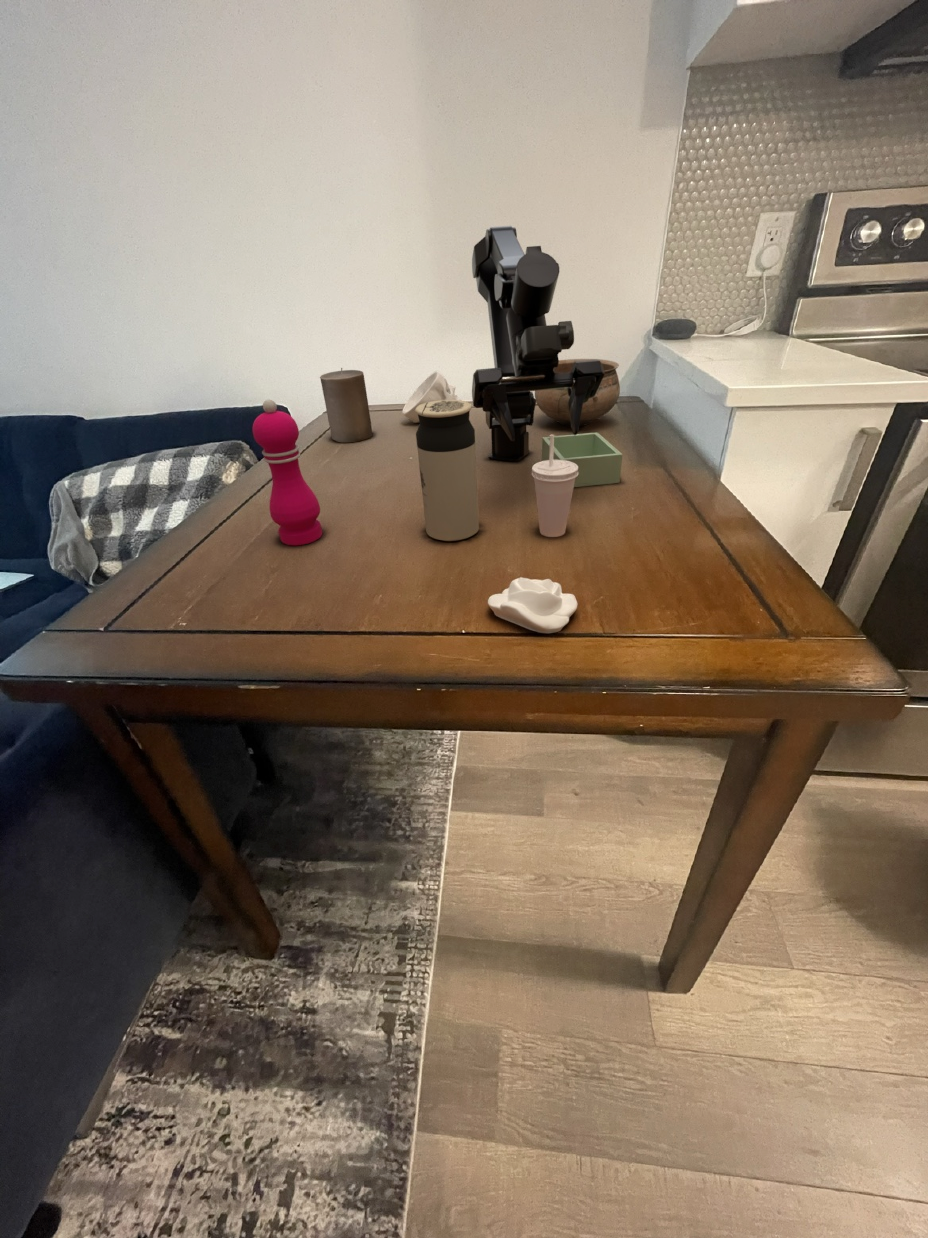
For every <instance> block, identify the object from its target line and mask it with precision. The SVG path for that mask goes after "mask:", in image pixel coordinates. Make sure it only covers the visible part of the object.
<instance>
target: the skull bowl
mask: <svg viewBox="0 0 928 1238" xmlns="http://www.w3.org/2000/svg"><path fill="white" fill-rule="evenodd" d="M455 391H456V386H455V385H451V384H449V382H448V381H447V379H446V377H445V376H444V375H443V373H442V372H440V371H439V370H435V371H433V372H432V373H430V374H429V376H427V377H426V378H425V380H424V381H422V382H421V384H419V386H418V387H417V388H416V389H415V391H413V393H412V394H411V395H410V396H409V398H408V400H407V401H406V403H405V404H404V406H403V408H402V410H401V411H402V412H401V413H402V415H403V416H404V417H405V418H406V419H408V420H409V421H411V422H412V423H414V424H420V421H419V417H418V414H417V413H416V412H415V409H416V407H417V406H419V405H421V404H424V403H427V402H432V401H439V400H461V401H463V400H462V399H461V398H459V397H458V395H455Z"/></svg>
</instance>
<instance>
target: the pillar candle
mask: <svg viewBox="0 0 928 1238" xmlns="http://www.w3.org/2000/svg"><path fill="white" fill-rule="evenodd" d="M319 379H320V384H321V390H322V395H323V400H324V405H325V410H326V414H327V420H328V425H329V429H330V435H331V439H332V440H333V441H335V442H336V443H337V442H338V443H355V442H361V441H364V440H368V439H370V438H372V437H373V435H374V433H373V429H372V420H371V414H370V407H369V400H368V394H367V387H366V379H365V375H364V371H362V370H356V369H345V370H344V369H343V367H340V370H336V371H330V372H326V373H323V374H321V375H320V376H319Z"/></svg>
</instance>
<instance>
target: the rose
mask: <svg viewBox="0 0 928 1238" xmlns="http://www.w3.org/2000/svg"><path fill="white" fill-rule="evenodd" d="M487 606H488V608H490V609H491V610H492V612H493V614H494V616H496V617H498V618H499V619H502V620H505V621H506V622H507V621H508V622H510V623H512V624H515V625H517V626H520V627H522V628H525V629H527V630H529V631H533V632H537V633H539V634H553V633H557V632H561V631H562V629H563V628H564V627H565V626H566V625H567V624H568V623H569V622H570V617H571V616H572V615H573V614H574V613H575V612H576V610H577V609H578V600H577V599H576V596H575V595H574V594H573V593H563V588H562V585H561V584H560V583H559V582H555V581H552V579H550V578H545V579H535V578H533V579H530V578H527V577H522V576H520V577H518V578H515V579H513V580H512V581H510V583H509V585H508V588H505V589H503V590H502V592H501V593H495V594H492V595H490V596H489V598H488V599H487Z"/></svg>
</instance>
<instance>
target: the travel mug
mask: <svg viewBox="0 0 928 1238" xmlns="http://www.w3.org/2000/svg"><path fill="white" fill-rule="evenodd" d="M461 400H462V399H461ZM461 400H439V401H432V402H427V403H424V404H421V405H419V406H417V407H416V409H415V412H416V413H417V414H418V417H419V421H420V423H418V424H419V425H418V427H417V430H416V433H415V439H416V448H417V456H418V457H417V458H418V466H419V476H420V483H421V484H420V485H421V495H422V505H423V511H424V512H423V515H424V523H425V531H426V534H427V535H428V536H429V537H430V538H432V539H435V540H440V541H444V542H456V541H462V540H465V539H468V538H470V537H472V536H474V535H475V534H477V533H478V532H479V529H480V518H479V517H480V516H479V495H478V476H477V453H476V452H477V451H476V432H475V431H476V430H475V428H474V426H473V424H472V422H471V420H470V412H471V410H472V407H473V405H472V404H471V403H470V402H468V401H465V400H462V401H461Z"/></svg>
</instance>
